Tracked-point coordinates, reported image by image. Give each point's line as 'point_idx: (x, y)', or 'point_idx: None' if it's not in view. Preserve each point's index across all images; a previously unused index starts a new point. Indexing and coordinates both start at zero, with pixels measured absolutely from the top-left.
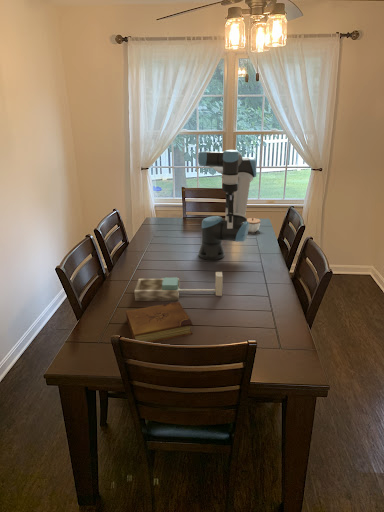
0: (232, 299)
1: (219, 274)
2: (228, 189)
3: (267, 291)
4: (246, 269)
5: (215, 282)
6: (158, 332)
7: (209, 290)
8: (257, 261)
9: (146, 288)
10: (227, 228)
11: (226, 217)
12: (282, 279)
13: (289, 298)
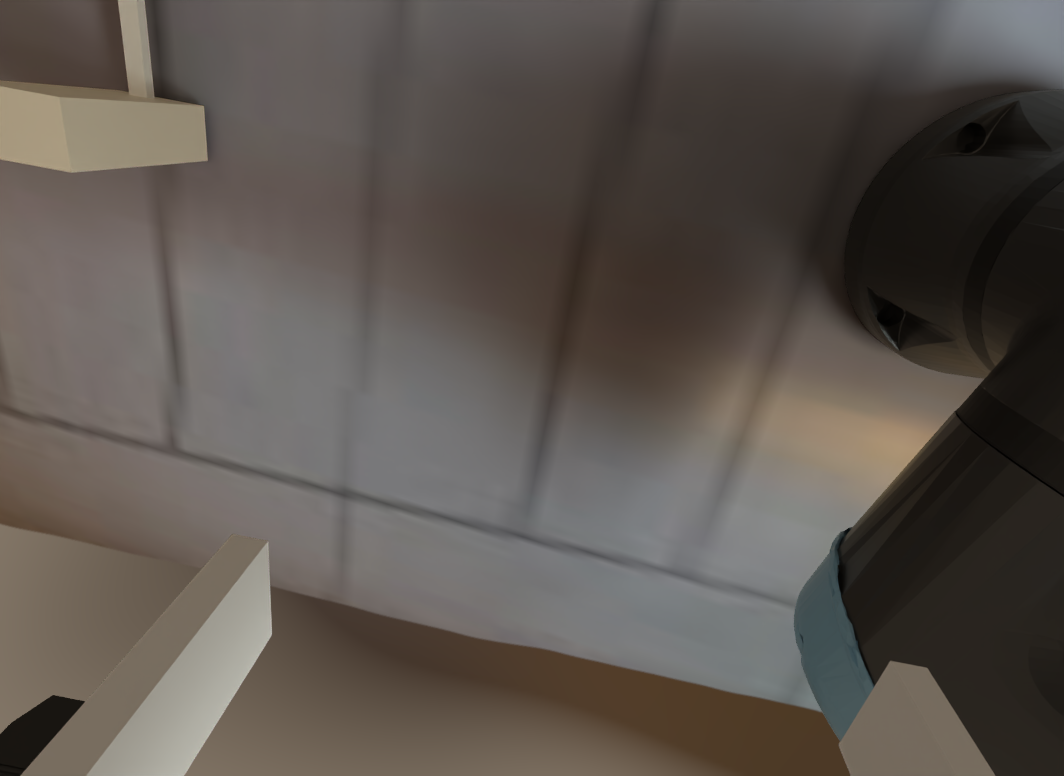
0: (101, 216)
1: (1, 128)
2: None
3: (235, 466)
4: (577, 447)
5: (143, 101)
6: None
7: (125, 34)
8: (696, 557)
9: None
10: (234, 539)
11: (918, 750)
12: (393, 592)
13: (161, 541)
